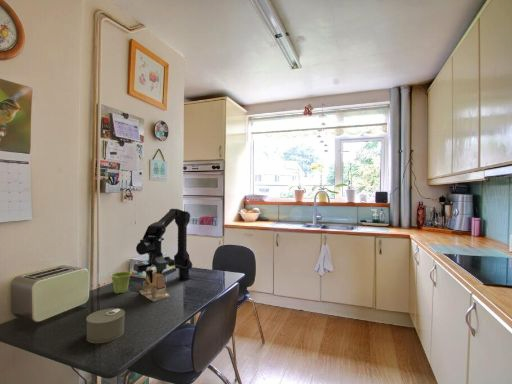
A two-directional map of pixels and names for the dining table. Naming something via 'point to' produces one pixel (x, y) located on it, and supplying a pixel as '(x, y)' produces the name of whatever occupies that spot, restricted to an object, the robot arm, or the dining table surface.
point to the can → (105, 325)
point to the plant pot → (120, 281)
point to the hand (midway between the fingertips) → (154, 282)
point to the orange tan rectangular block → (156, 280)
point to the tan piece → (154, 292)
